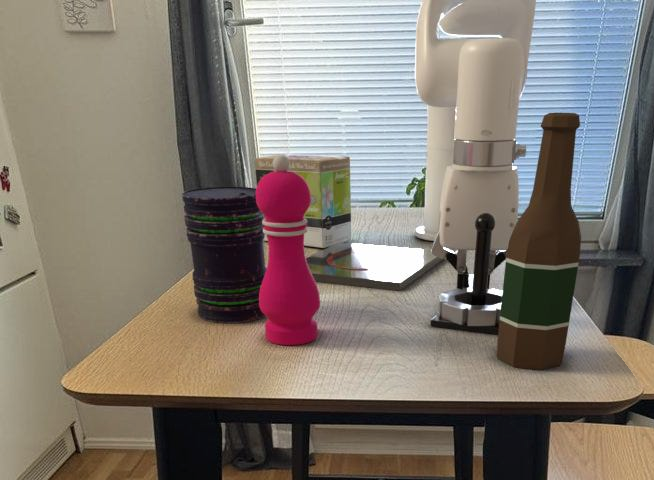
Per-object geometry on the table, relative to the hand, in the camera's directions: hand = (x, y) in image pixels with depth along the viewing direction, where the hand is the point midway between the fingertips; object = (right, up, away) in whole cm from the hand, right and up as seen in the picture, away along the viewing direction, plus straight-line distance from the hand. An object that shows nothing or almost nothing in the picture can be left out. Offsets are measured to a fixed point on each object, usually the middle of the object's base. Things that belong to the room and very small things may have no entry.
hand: (471, 300), depth 94 cm
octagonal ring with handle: (0, -2, -5) cm, 5 cm away
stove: (-15, +10, +17) cm, 24 cm away
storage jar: (-33, -3, -3) cm, 33 cm away
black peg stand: (-1, -5, -7) cm, 9 cm away
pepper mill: (-24, -8, -12) cm, 28 cm away
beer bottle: (+3, -12, -19) cm, 22 cm away
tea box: (-26, +21, +35) cm, 48 cm away
